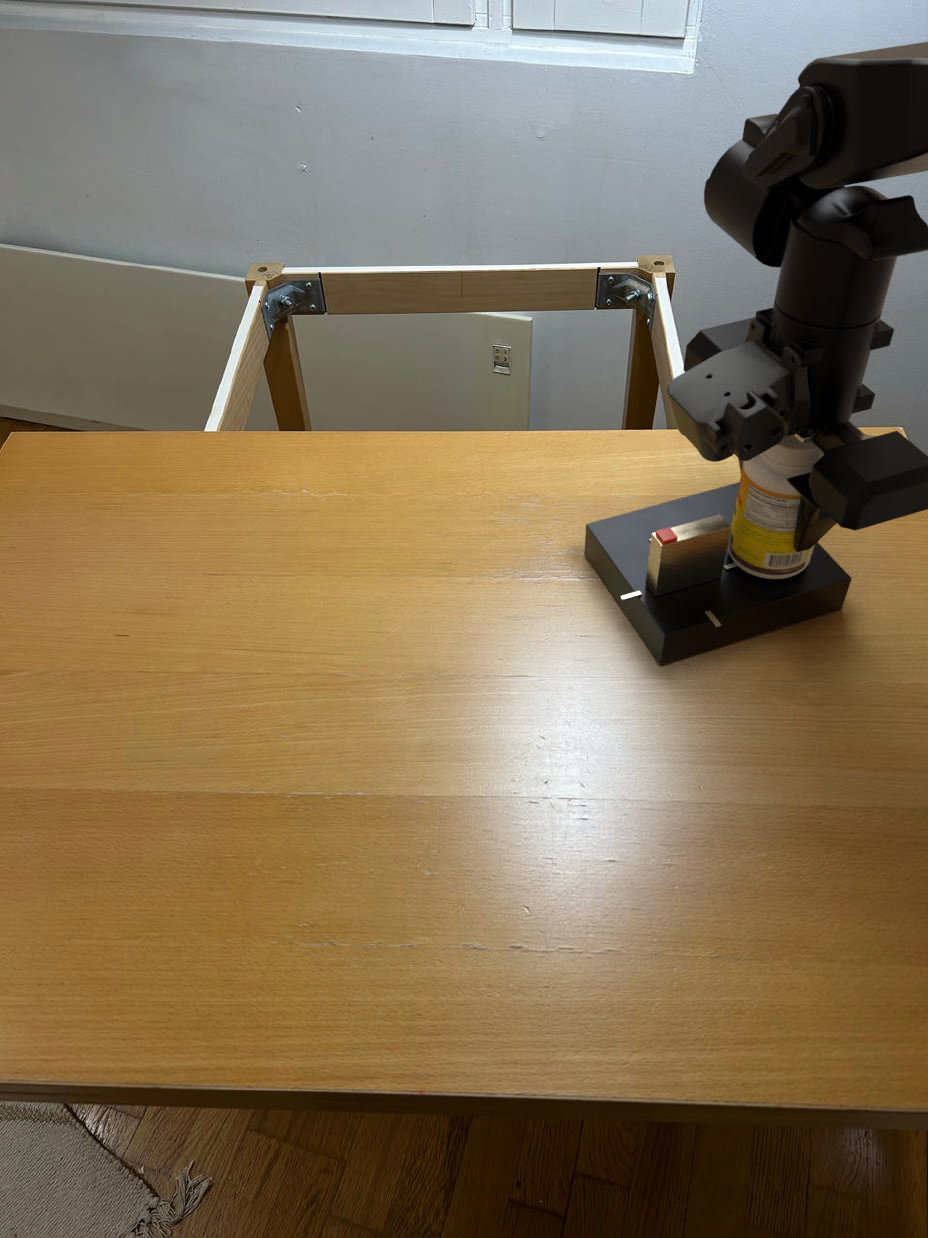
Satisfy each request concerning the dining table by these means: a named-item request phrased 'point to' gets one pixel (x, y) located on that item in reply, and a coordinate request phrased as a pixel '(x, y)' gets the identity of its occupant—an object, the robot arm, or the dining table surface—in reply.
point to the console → (712, 606)
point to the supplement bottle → (771, 511)
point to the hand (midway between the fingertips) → (776, 521)
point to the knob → (687, 555)
